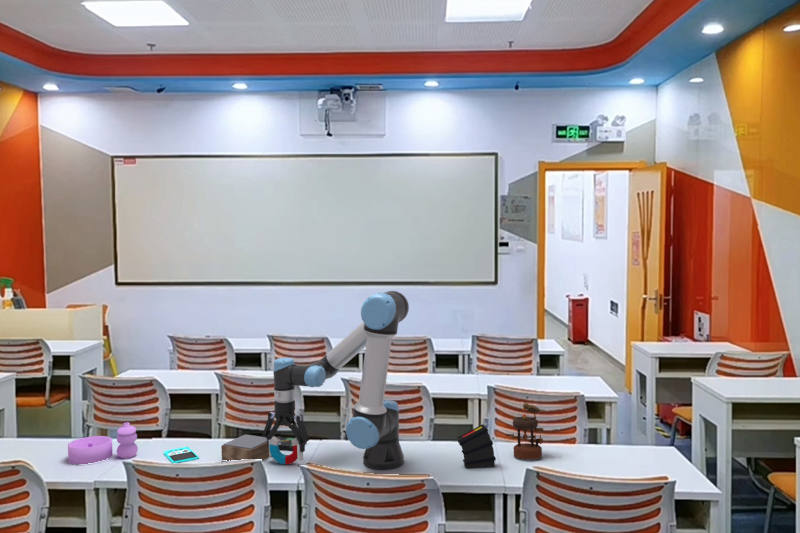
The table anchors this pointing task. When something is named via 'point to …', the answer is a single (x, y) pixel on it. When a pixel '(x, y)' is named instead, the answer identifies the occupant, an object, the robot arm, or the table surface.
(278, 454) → the magnet
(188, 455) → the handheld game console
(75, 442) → the container set
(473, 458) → the magazine
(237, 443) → the walnut stand
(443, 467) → the table surface
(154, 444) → the table surface
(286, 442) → the disk drive
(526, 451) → the music box
